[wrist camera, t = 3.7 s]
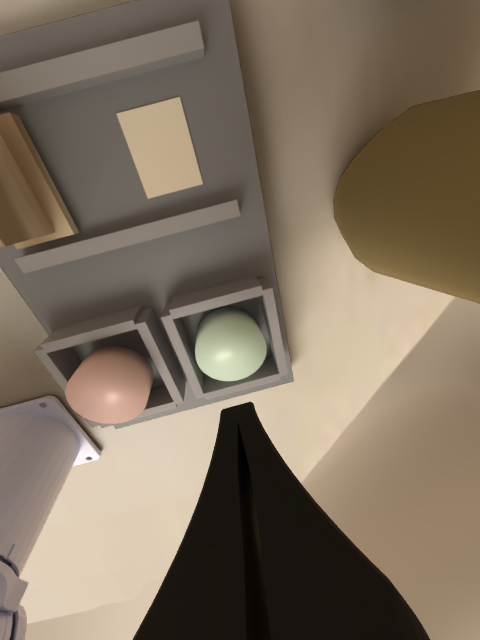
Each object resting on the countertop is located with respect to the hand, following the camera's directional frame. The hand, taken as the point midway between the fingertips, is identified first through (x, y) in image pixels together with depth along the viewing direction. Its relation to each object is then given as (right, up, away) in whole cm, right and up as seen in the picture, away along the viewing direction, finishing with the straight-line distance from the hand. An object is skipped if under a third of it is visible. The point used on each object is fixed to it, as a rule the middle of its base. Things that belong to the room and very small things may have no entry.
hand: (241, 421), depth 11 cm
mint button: (-1, +3, +6) cm, 7 cm away
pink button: (-8, +1, +5) cm, 10 cm away
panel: (-6, +7, +6) cm, 11 cm away
